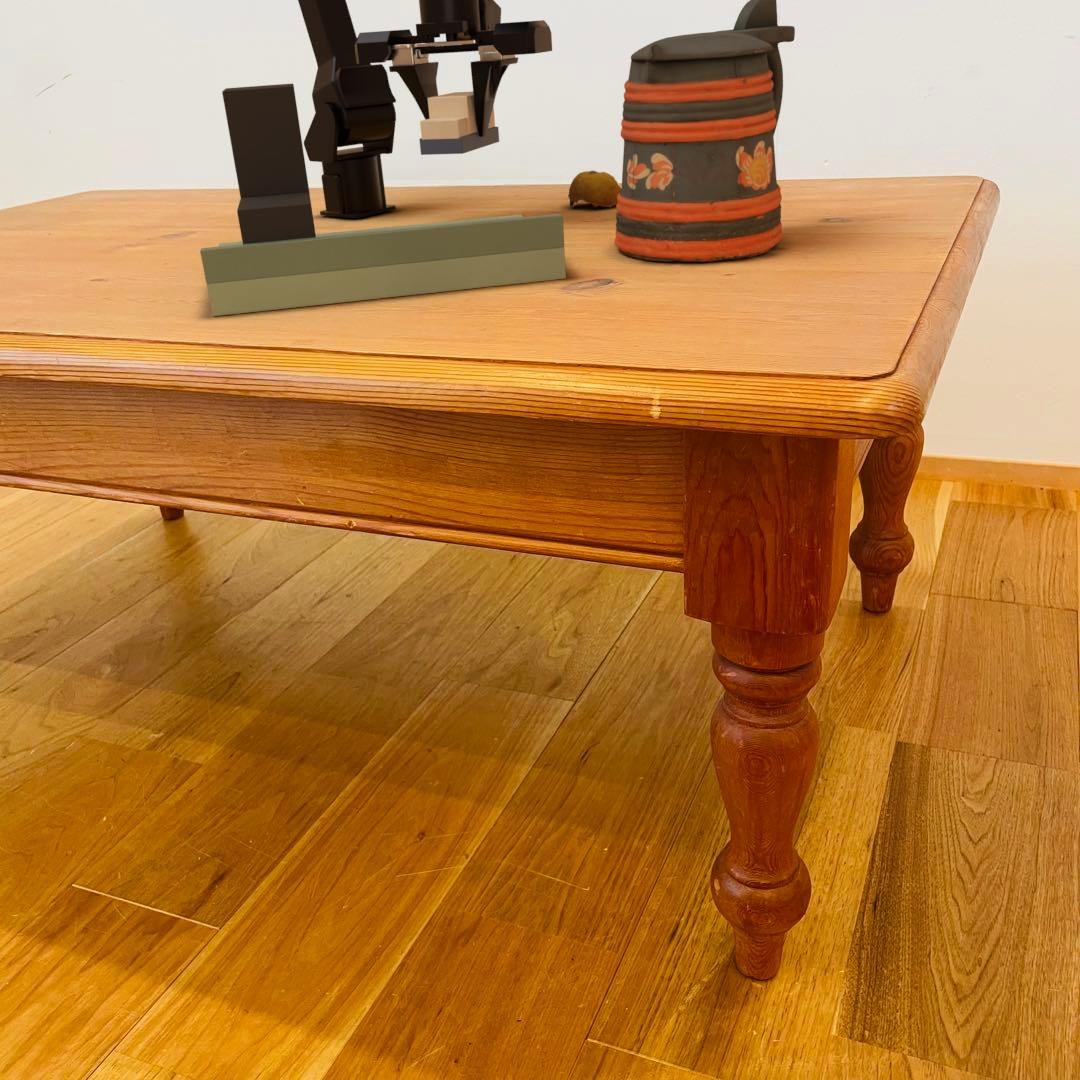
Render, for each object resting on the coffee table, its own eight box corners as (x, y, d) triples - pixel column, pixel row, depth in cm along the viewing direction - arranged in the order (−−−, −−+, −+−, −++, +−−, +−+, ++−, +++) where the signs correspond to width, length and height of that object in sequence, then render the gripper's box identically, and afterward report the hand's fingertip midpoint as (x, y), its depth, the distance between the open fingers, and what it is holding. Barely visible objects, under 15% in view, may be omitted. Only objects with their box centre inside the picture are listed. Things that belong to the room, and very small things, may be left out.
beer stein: (698, 219, 108) (699, -3, 99) (833, 229, 99) (847, -14, 91) (582, 255, 95) (572, 3, 87) (726, 269, 87) (731, -8, 78)
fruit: (653, 200, 120) (653, 166, 119) (607, 212, 115) (606, 176, 113) (596, 196, 126) (595, 163, 124) (549, 208, 120) (547, 173, 119)
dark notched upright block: (253, 249, 94) (225, 88, 88) (316, 243, 95) (293, 83, 89) (248, 277, 83) (216, 95, 77) (320, 269, 84) (294, 89, 78)
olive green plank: (224, 271, 99) (213, 215, 96) (522, 241, 103) (519, 186, 101) (212, 316, 83) (199, 250, 80) (566, 278, 87) (563, 215, 85)
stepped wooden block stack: (459, 142, 114) (455, 91, 111) (499, 141, 112) (495, 90, 110) (420, 154, 105) (415, 99, 103) (463, 153, 104) (458, 97, 102)
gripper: (565, -44, 105) (572, 125, 112) (393, -29, 111) (410, 131, 118) (527, -48, 96) (538, 138, 103) (342, -31, 102) (364, 143, 109)
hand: (460, 137), depth 108 cm, fingers closed on stepped wooden block stack, 4 cm apart
